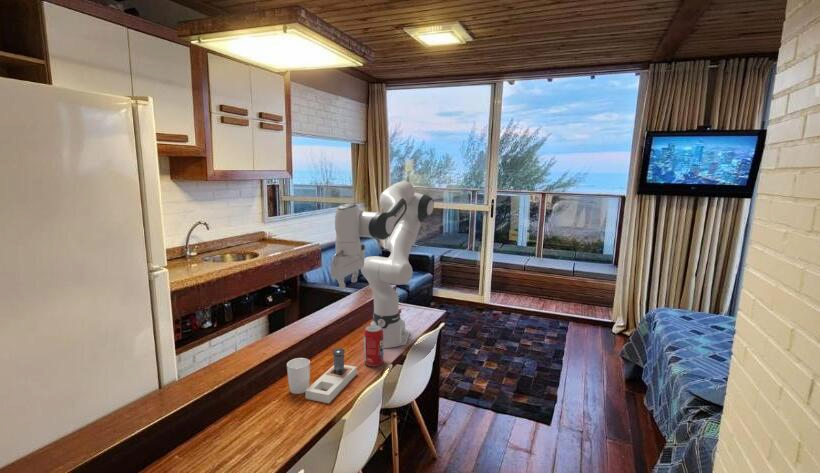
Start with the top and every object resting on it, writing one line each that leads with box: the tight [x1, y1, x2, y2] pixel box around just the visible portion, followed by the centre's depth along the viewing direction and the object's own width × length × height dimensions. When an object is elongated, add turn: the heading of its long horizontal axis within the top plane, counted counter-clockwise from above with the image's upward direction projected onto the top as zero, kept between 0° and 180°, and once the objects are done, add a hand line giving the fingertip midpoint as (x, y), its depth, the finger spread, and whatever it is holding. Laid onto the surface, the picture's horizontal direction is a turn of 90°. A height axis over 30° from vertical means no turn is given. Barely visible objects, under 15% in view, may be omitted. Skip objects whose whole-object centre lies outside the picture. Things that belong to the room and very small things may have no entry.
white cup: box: [286, 357, 311, 395], centre depth 144 cm, size 8×8×10 cm
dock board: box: [305, 364, 358, 404], centre depth 147 cm, size 21×9×3 cm, turn 161°
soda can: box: [363, 324, 385, 367], centre depth 164 cm, size 8×8×15 cm
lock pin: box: [332, 347, 346, 375], centre depth 151 cm, size 4×4×11 cm
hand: (348, 285), depth 151 cm, fingers open, 8 cm apart
